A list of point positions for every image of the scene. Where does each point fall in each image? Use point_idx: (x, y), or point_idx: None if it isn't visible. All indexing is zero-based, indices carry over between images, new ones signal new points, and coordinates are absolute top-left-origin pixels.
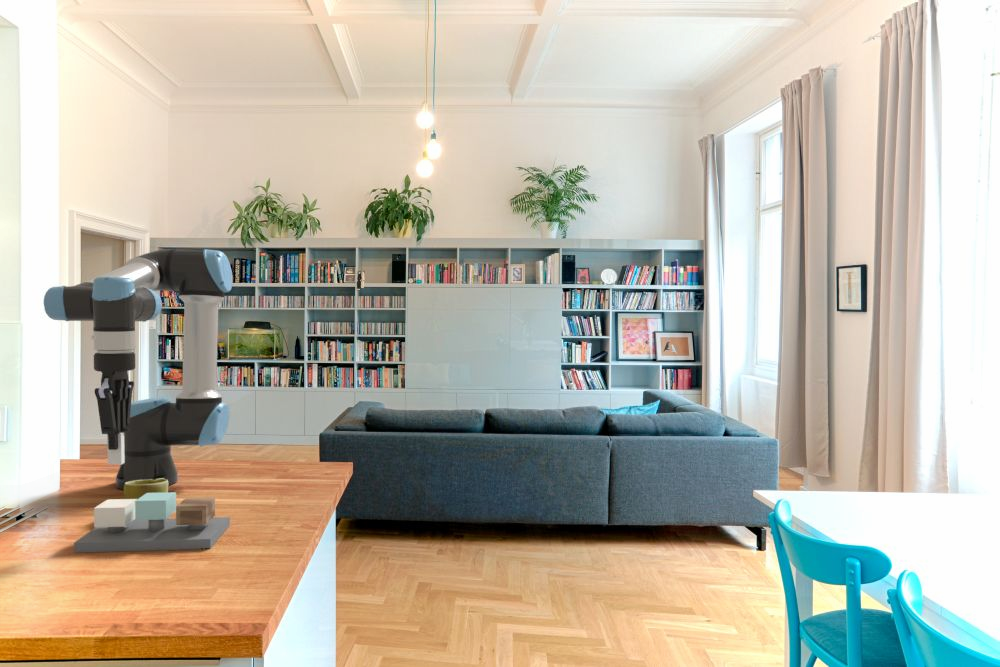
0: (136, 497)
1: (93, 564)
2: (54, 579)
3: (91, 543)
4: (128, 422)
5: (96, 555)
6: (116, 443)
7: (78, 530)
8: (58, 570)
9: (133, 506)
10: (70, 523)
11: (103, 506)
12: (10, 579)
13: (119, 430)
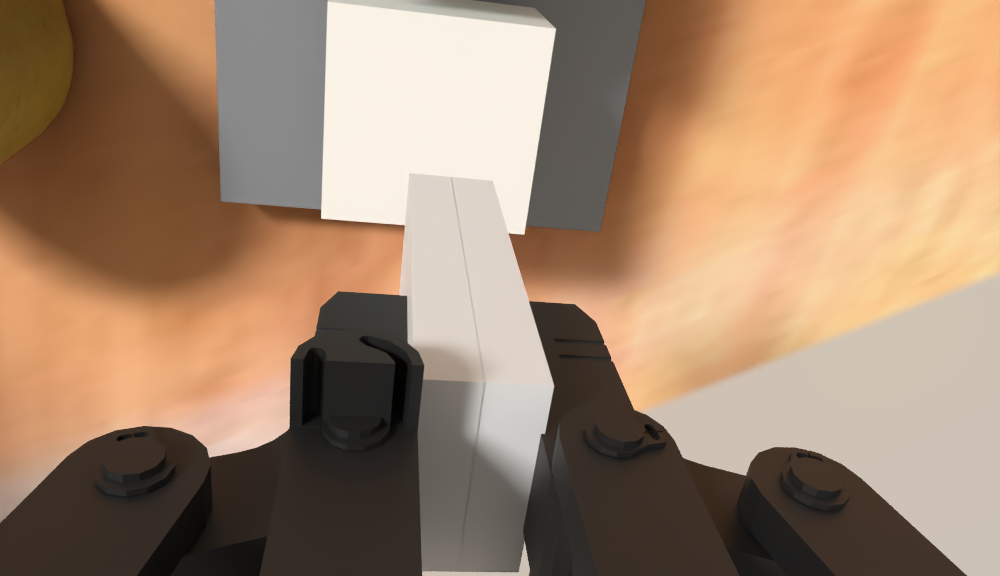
0: (7, 89)
1: (784, 66)
2: (909, 170)
3: (613, 147)
4: (119, 488)
5: (658, 94)
6: (573, 346)
7: (243, 312)
8: (805, 194)
9: (400, 5)
10: (123, 388)
11: (500, 187)
12: (836, 330)
13: (641, 435)
